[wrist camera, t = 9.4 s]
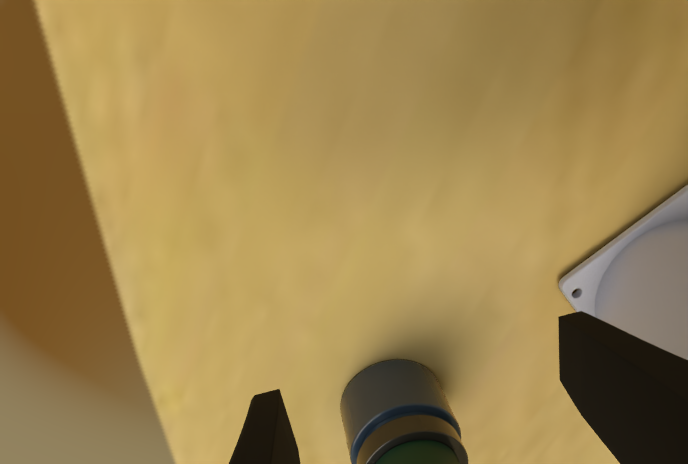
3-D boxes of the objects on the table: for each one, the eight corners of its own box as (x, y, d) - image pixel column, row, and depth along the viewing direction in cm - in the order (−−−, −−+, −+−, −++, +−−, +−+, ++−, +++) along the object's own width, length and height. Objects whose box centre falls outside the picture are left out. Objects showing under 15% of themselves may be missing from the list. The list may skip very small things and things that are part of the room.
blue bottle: (458, 398, 27) (495, 469, 23) (381, 455, 28) (403, 533, 24) (400, 340, 25) (429, 406, 21) (319, 402, 26) (330, 478, 22)
